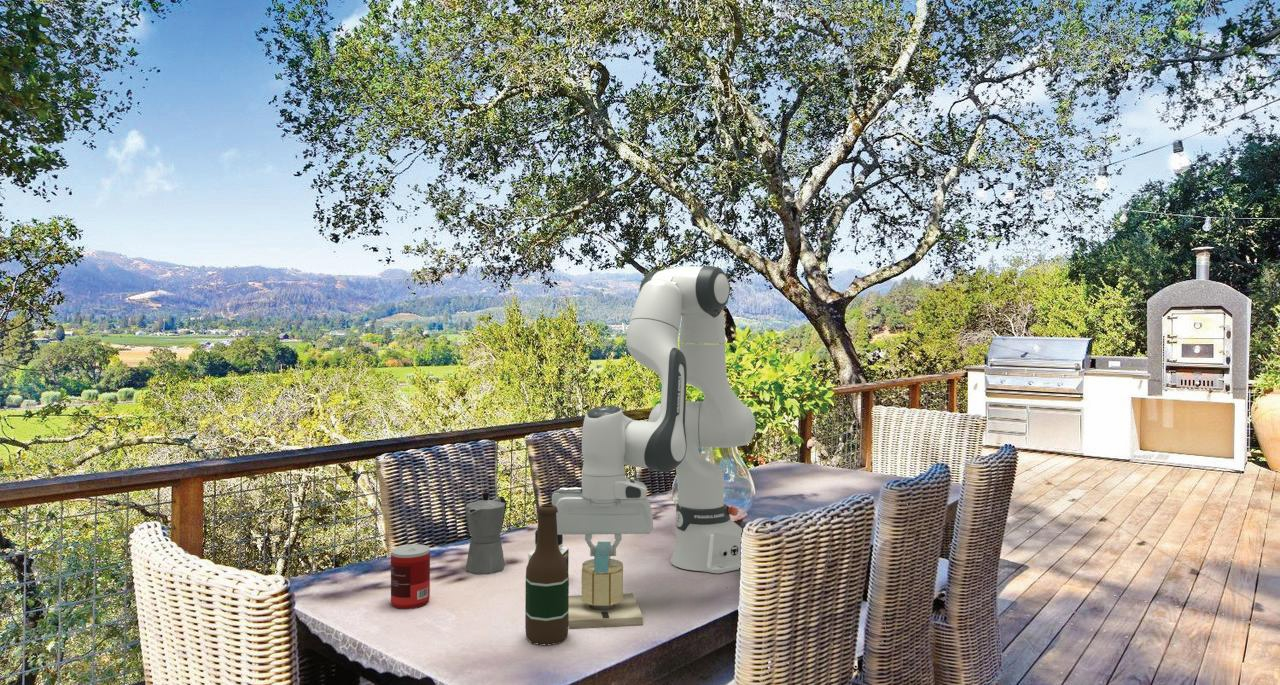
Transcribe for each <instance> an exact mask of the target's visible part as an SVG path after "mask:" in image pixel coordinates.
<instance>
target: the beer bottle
mask: <svg viewBox="0 0 1280 685" xmlns="http://www.w3.org/2000/svg"><path fill="white" fill-rule="evenodd" d="M536 512H537V514H538V519H537V520H538V521H537V529H538V532H537V544H536V547H535V548H534V549H535V552H534V553H533V555H532V556H531V558H530V559H529V558H528V562H527V565H526V568H525V599H524V600H525V608H524V609H525V615H524V616H525V619H524V620H525V621H524V622H525V623H524V625H525V626H524V627H525V637H526V639H527V638H528V639H529V640H530V641H531V642H532V643H538V644H537V645H540V644H545V645H544V646H549V645H548V644H551V645H554V644H553V643H556V644H560V643H559V642H561V643H562V642H563V641H564V640H565V639H567V637H568V636H569V625H568V614H569V596H570V595H569V593H570V590H569V589H570V588H569V584H570V582H569V580H570V579H569V578H570V577H569V576H570V574H569V565H568V566H567V563H566V560H565V558H564V556H563V555H562V553H561V552H560V550H559V545H558V535H557V518H556V513H557V512H558V509H557V507H556V506H554V505H552V504H541V505H540V506H538V507H537V510H536ZM528 639H527V640H528ZM529 640H528V641H529ZM530 641H529V642H530ZM531 642H530V643H531ZM532 643H531V644H532Z"/></svg>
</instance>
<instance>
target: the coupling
mask: <svg viewBox="0 0 1280 685" xmlns="http://www.w3.org/2000/svg"><path fill="white" fill-rule="evenodd" d="M611 545H612V543H611V541H597V543H596V546H597V548H596V552H595V556H593V559H592V558H591V559H588V560H585V561H584V562H582V564H581V565H582V568H581V595H582V602H585V603H588V604H590V605H602V606H609V605H613V604H616V603H620V602H622V601H623V593H624V564H623V561H620V560H618V559H614V558H611V557H612V556H610V546H611Z"/></svg>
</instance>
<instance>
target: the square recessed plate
mask: <svg viewBox="0 0 1280 685" xmlns="http://www.w3.org/2000/svg"><path fill="white" fill-rule="evenodd" d="M629 625H630V626H641V625H642V626H643V625H644V617H643V614H642V612H641V609H640V608H639V604H638V602H637V600H636V598H635V595H634V593H633V592H628V593H627V592H623V601H622V602H620V603H616V604H613V605H609V606H602V605H590V604H588V603H585V602H582V594H578V595H569V614H568V629H569V628H570V629H587V628H586V627H590V628H605V627H604V626H610V627H626V626H629ZM580 627H581V628H580Z"/></svg>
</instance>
